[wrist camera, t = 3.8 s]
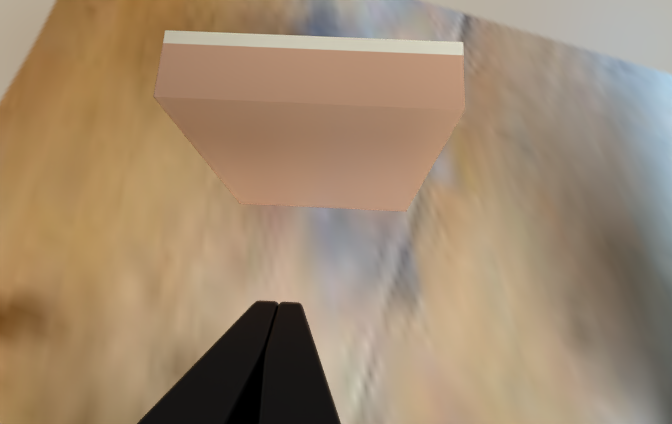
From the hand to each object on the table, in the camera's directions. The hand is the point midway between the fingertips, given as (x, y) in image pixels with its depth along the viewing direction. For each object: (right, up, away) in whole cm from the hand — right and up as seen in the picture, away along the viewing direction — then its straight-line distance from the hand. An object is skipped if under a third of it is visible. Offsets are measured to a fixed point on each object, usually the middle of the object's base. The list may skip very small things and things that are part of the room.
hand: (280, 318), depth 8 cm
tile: (0, +4, +8) cm, 9 cm away
